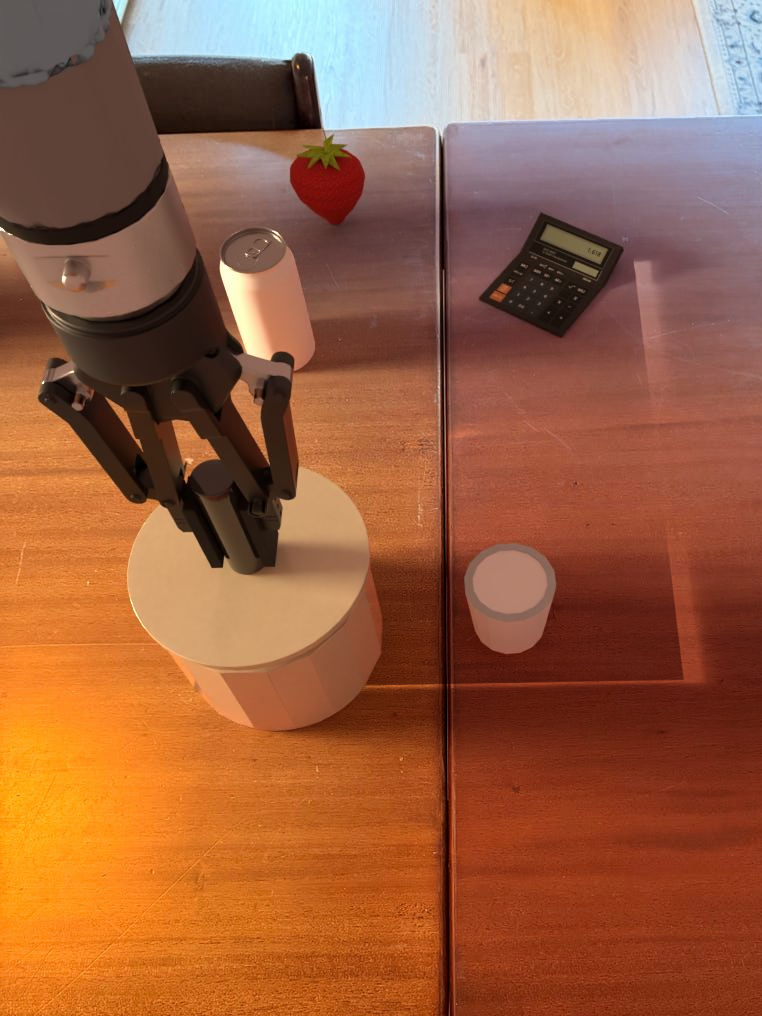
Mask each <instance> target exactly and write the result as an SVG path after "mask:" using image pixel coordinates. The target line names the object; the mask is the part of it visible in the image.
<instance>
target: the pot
mask: <svg viewBox="0 0 762 1016" xmlns="http://www.w3.org/2000/svg"><path fill="white" fill-rule="evenodd" d="M383 619H384V618H383V614H382V610H381V605H380V602H379V598H378V594H377V590H376V585H375V581H374V577H373V572H372V569H371V567H370V568H369V574H368V578H367V581H366V585H365V588H364V590H363V592H362V594H361V597H360V599H359V601H358V602H357V604H356V606H355V607H354V609H353V610H352V612H351V613H350V615H349V616H348V617H347V618H346V620H345V621H344V622H343V623H342V625H341V626H340V627H338V628H337V629H336V630H335V631H334V632H333V633H332V634H331V635H330V636H329V637H328V638H326V639H325V640H324V641H322V642H321V643H320V644H318V645H317V646H315V647H314V648H312V649H310V650H309V651H307V652H305V653H303V654H302V655H299V656H297V657H295V658H293V659H290V660H288V661H285V662H282V663H279V664H276V665H273V666H269V667H264V668H258V669H252V670H239V671H235V670H219V669H213V668H207V667H203V666H199V665H196V664H193V663H190V662H187V661H185V660H183V659H181V658H179V657H176V656H175V655H173V654H172V653H170V652H169V651H167V652H168V654H169V655H170V657H171V658H172V659H173V660H174V662H175V664H176V665H177V666H178V668H179V669H180V670H181V672H182V673H183V674H184V676H185V677H186V678H187V680H188V681H189V683H190V684H191V685H192V687H193V688H194V690H195V691H196V692H197V693H198V694H199V695H200V696H201V697H202V698H203V699H204V700H205V702H207V704H208V705H209V706H210V708H212V709H213V710H214V711H215V712H216V713H217V714H218V715H220V716H222V717H224V718H226V719H227V720H229V721H232V722H233V723H236V724H238V725H240V726H244V727H247V728H250V729H255V730H261V731H274V732H275V731H276V732H277V731H278V732H279V731H280V732H281V731H291V730H297V729H301V728H305V727H308V726H312V725H315V724H318V723H319V722H322V721H324V720H326V719H328V718H330V717H332V716H334V715H335V714H336V713H338V712H340V711H342V710H343V709H344V708H345V707H346V706H347V705H349V704H350V703H351V702H353V700H354V699H355V698H356V697H357V696H359V694H360V693H361V692H362V691H363V690H364V688H365V687H366V685H367V682H368V680H369V678H370V676H371V674H372V672H373V670H374V668H375V666H376V664H377V662H378V660H379V658H380V657H381V654H382V645H383V641H382V640H383V622H384V621H383Z"/></svg>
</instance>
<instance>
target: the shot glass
mask: <svg viewBox="0 0 762 1016" xmlns="http://www.w3.org/2000/svg"><path fill="white" fill-rule="evenodd" d="M463 580H464V581H463V582H464V592H465V593H464V594H465V597H466V601H467V604H468V609H469V613H470V616H471V620H472V621H471V622H472V624H473V628H474V632H475V634H476V635H477V637H478V639H479V640H480V642H481V643H482V644H483V645H484V646H486V647H487V648H488V649H490V650H491V651H494V652H496V653H501V654H503V655H510V654H521V653H522V652H525V651H527V650H529V649H531V648H533V647H534V646H535V645H536V644H537V643H538V642H539V640H540V639H541V638H542V636H543V633H544V631H545V627H546V624H547V621H548V617H549V614H550V610H551V606H552V604H553V601H554V600H553V599H554V597H555V593H556V590H557V589H556V588H557V581H556V580H557V579H556V573H555V569H554V568H553V566H552V565H551V563H550V561H549V560H548V558H547V556H545V555H544V554H542V553H541V552H539V551H538V550H536V549H535V548H534V547H532V546H529V545H524V544H521V543H516V542H509V543H496V544H494V545H492V546H490V547H488V548H486V549H483V550H481V551H480V552H479V553H477V555H476V556H474V558H473V559H472V560H471V561H470V562H469V564H468V566H467V568H466V571H465V575H464V576H463Z"/></svg>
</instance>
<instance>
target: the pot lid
mask: <svg viewBox="0 0 762 1016" xmlns="http://www.w3.org/2000/svg"><path fill="white" fill-rule="evenodd" d="M267 462H268V463H269V460H267ZM269 465H270V464H269ZM189 476H190V478H189V484H190V487H191V489H192V491H193V493H194V495H195V497H196V499H197V501H198V503H199V505H200V507H201V509H202V511H203V513H204V515H205V517H206V519H207V521H208V523H209V525H210V527H211V530H212V532H213V534H214V536H215V538H216V540H217V542H218V544H219V546H220V548H221V550H222V552H223V554H224V563H223V568H211V566H210V564H209V562H208V560H207V558H206V556H205V555H204V553H203V551H202V549H201V547H200V545H199V543H198V541H197V539H196V538H195V536H194V534H193V532H182V531H181V530H180V529H178V527H177V526H176V524H175V522H174V520H173V518H172V516H171V515H170V513H169V511H168V509H167V508H164V507H163V506H161V505H160V504H158V505H157V506H156V507H155V508H154V509H153V511H152V512H151V513H150V515H149V516H148V517H147V519H146V520H145V521H144V523H143V525H142V526H141V528H140V530H139V531H138V533H137V535H136V538H135V540H134V542H133V545H132V547H131V551H130V555H129V557H128V563H127V564H128V565H127V571H126V578H127V579H126V580H127V582H126V583H127V592H128V596H129V601H130V604H131V606H132V608H133V612H134V614H135V616H136V617H137V619H138V621H139V623H140V624H141V626H142V627H143V629H144V630H145V631H146V633H148V634H149V636H150V637H151V638H152V640H154V641H155V642H156V643H157V644H158V645H159V646H161V647H162V648H163V649H164V650H166V652H168V651H169V652H170V653H172V654H173V655H175V656H176V657H179V658H181V659H183V660H185V661H187V662H190V663H193V664H196V665H199V666H203V667H207V668H213V669H219V670H235V671H239V670H252V669H258V668H264V667H269V666H273V665H276V664H279V663H282V662H285V661H288V660H290V659H293V658H295V657H297V656H299V655H302V654H303V653H305V652H307V651H309V650H310V649H312V648H314V647H315V646H317V645H318V644H320V643H321V642H322V641H324V640H325V639H326V638H328V637H329V636H330V635H331V634H332V633H333V632H334V631H335V630H336V629H337V628H338V627H340V626H341V625H342V623H343V622H344V621H345V620H346V618H347V617H348V616H349V615H350V613H351V612H352V610H353V609H354V607H355V606H356V604H357V602H358V601H359V599H360V597H361V594H362V592H363V590H364V588H365V585H366V581H367V578H368V574H369V568H371V560H372V559H371V558H372V557H371V542H370V537H369V532H368V531H369V530H368V528H367V526H366V523H365V520H364V517H363V515H362V513H361V511H360V509H359V508H358V506H357V505H356V503H355V502H354V501H353V500H352V498H351V497H350V495H348V493H346V491H345V490H344V489H342V488H341V486H339V485H338V484H336V483H335V482H334V481H333V480H331V479H330V478H328V477H326V476H325V475H322V474H321V473H319V472H317V471H315V470H312V469H309V468H307V467H304V466H301V465H299V469H298V480H297V489H296V497H295V498H294V499H292V500H283V499H280V498H279V499H280V501H281V504H282V507H283V510H282V519H281V526H280V529H279V530H278V533H279V535H278V545H277V554H276V563H275V567H264V566H263V564H262V561H261V559H260V557H259V555H258V552H257V550H256V548H255V545H254V543H253V541H252V539H251V536H250V534H249V532H248V529H247V527H246V525H245V523H244V520H243V518H242V516H241V513H240V511H239V509H240V502H241V496H242V492H241V490H240V489H239V487H238V485H237V484H236V482H235V481H234V479H233V478H232V476H231V475H230V473H229V472H228V470H227V469H226V467H225V466H224V464H223V463H222V461H221V460H220V458H218V459H217V458H212V459H207V460H204V461H202V462H201V463H199V464H197V465H196V466H195V467H194V468H193V469H192V470H191V472H190V474H189ZM186 484H187V482H186ZM169 652H168V653H169ZM170 653H169V654H170Z"/></svg>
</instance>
